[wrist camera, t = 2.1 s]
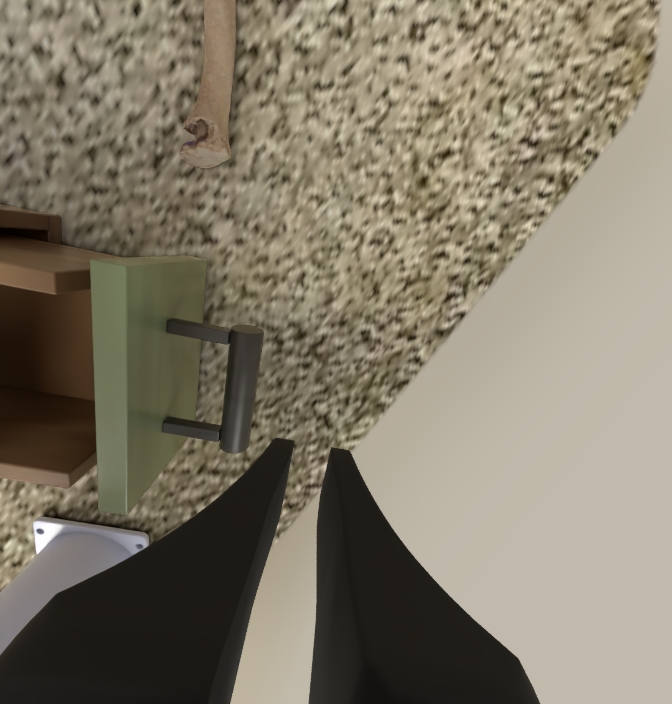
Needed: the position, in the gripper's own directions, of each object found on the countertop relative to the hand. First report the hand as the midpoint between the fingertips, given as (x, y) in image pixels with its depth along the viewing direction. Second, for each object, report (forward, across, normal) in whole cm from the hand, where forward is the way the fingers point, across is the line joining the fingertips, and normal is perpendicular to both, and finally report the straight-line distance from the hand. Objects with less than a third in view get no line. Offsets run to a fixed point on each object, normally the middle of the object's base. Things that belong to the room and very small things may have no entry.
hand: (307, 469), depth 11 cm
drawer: (+9, +11, 0) cm, 14 cm away
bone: (+10, +8, -15) cm, 20 cm away
